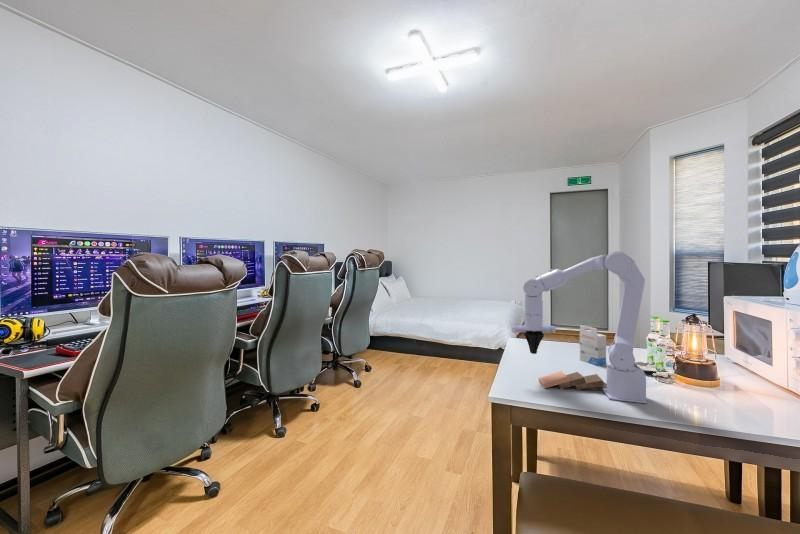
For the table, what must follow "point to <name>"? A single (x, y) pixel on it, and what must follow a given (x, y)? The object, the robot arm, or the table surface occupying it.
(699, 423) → the table surface
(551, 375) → the terracotta domino
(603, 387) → the walnut domino
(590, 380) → the walnut domino
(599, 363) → the ink box
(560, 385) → the walnut domino
